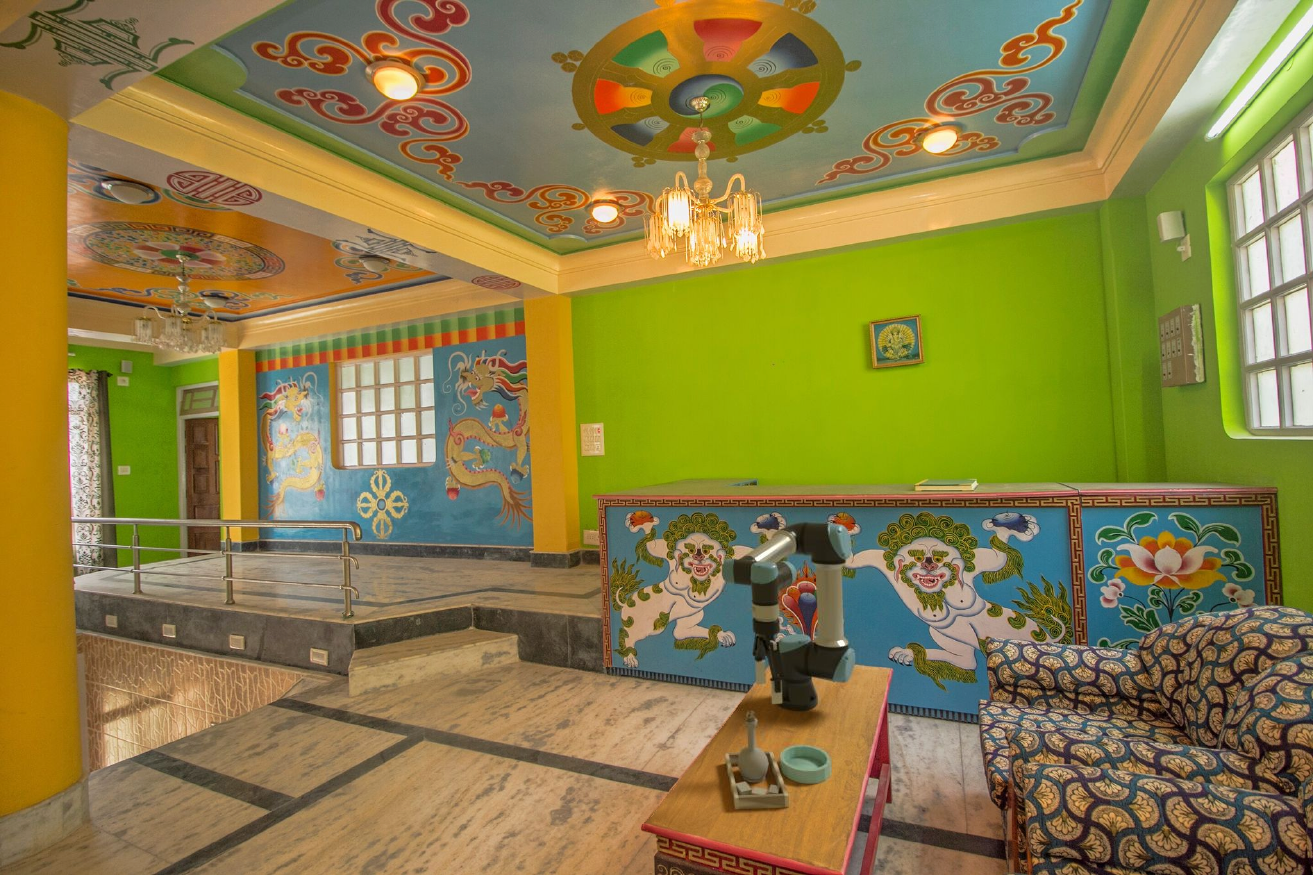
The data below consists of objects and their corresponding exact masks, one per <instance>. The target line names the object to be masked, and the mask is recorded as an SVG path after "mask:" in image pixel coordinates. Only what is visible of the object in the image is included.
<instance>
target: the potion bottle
mask: <svg viewBox="0 0 1313 875" xmlns="http://www.w3.org/2000/svg"><path fill="white" fill-rule="evenodd" d="M743 721H744V725H745V727H746V729H747V730H746V731H747V746H745V747H744V748H742V750H740V752H739V753H740V754H739V756H738V761H737V763H738V765H737V766H738V769H739V770H738V771H739V773H740V775H741V778H742V780H743V781H744V782H745V781H746V783H757V784H758V783H760V782H763V781H764V780H766V776H767V774H768V773H767V772H768V769H769V765H770V763H768V759H767V756H766V755H765V753H764V752H765V751H764V750H763V749H761V748H760V747H758V746H756V745H757V744H756V742H757V741H756V728H757V725H758V719H757V718H756V714H755V711H754V710H748V711H747V712H746V717H745V718H744V719H743Z"/></svg>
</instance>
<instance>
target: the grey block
mask: <svg viewBox="0 0 1313 875" xmlns="http://www.w3.org/2000/svg"><path fill="white" fill-rule="evenodd" d="M735 784H736V788H737V793H738V795H752V791H753V788H751V787H750V784H748V782H747V781H745V780H744V781H742V782H737V783H736V782H735Z"/></svg>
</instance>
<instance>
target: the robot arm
mask: <svg viewBox="0 0 1313 875" xmlns="http://www.w3.org/2000/svg"><path fill="white" fill-rule="evenodd" d="M793 555H794V556H795V555H797V556H798V555H799V556H810V563H811V564H812V565H813V566H815V580H816V582H815V585H816V612H817V636H816V637H814V639H813V641H812V639H811V637H810V635H807V634H802V633H800V634H799V633H796V634H789V635H785V636H783V637H780V638H779V639H778V641H776V638H775V635H778V634H779V633H780V631H781V628H780V627H781V626H780V624H781V623H780V622H781V620H780V619H779V618H780V601H779V593H780V591H783V590H785V589H787V588H790V587H791V586H792V585H793V584H794V583H795V582H796V580H797V577H798V573H797V570H796V567H795V566H794V565H793V564H792V563H791V562H789V561H787V560H782V559H783V558H790V557H791V556H793ZM851 555H852V538H851V536H850V533H849V531H848V529H847V528H846V527H845V525H843V524H837V523H833V522H832V523H831V522H829V523H828V522H807V521H805V522H803V521H802V522H796V523H792V524H789V525H787V526H785V527H782V528H780V529H778V530H777V531H775V532H774V533H773V534H772V536H771V538H770V539H768V540H766V541H765V542H764V543H762V544H760V545H759V546H757V547H756V548H754V549H752V550H751V551H750V552H748V553H746V554H744V555H743V556H742V557H740V558H737V559H736V558H727V559H725V560H724V561H723V563H722V566H721V577H722V580H723V581H724V582H725V583H728V584H733V585H740V586H748V587H749V586H750V588H751V606H750V610H751V612H752V617H753V618H752V632H754V641H753V646H752V647H753V648H752V656H753V657H754V660H755V661H754V662H755V681H756V682H755V684H756V685H764V684H766V683H767V678H766V677H767V676H766V661H765V660H767V662H768V666H769V667H768V668H769V671H770V674H771V677H770V679H769V681H770V690H771V704H772V705H778V706H780V707H781V708H784V709H787V710H792V711H808V710H812V709H814V708H816V707H817V705H818V704H819V698H818V696H819V695H818V693H817V690H816V688H815V684H814V682H813V678H816V679H821V680H825V681H830V682H833V683H841V684H845V683H848V681H849V680H850V679H851V678H852V675H853V672H854V670H855V665H856V653H855V652H856V651H855V650H854V648H851V647H849V645H850V644H849V640H848V639H847V638H846V637H845V636H844V635H845V634H844V633H845V632H844V631H845V630H844V608H843V607H844V606H843V605H844V604H843V601H844V600H843V575H842V574H843V573H842V568H843V567H844V565H846V563H847V560H848V559H849V558H851ZM781 560H782V561H781Z"/></svg>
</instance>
